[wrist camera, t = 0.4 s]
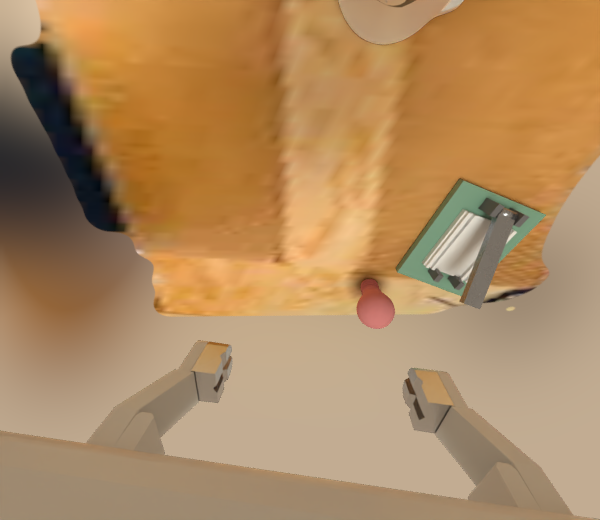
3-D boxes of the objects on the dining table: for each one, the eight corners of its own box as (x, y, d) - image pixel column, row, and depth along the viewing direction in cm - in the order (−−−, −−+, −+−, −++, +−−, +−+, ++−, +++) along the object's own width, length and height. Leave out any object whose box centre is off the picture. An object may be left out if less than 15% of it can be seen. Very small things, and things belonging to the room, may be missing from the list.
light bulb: (384, 296, 55) (396, 337, 45) (352, 296, 56) (357, 336, 46) (387, 270, 51) (401, 309, 41) (353, 271, 52) (359, 308, 42)
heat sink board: (459, 178, 40) (474, 186, 36) (539, 212, 42) (563, 223, 37) (395, 268, 51) (401, 282, 46) (461, 292, 52) (472, 308, 48)
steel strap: (495, 206, 39) (503, 205, 38) (510, 213, 39) (520, 211, 38) (458, 301, 40) (465, 303, 38) (473, 307, 40) (481, 309, 38)
